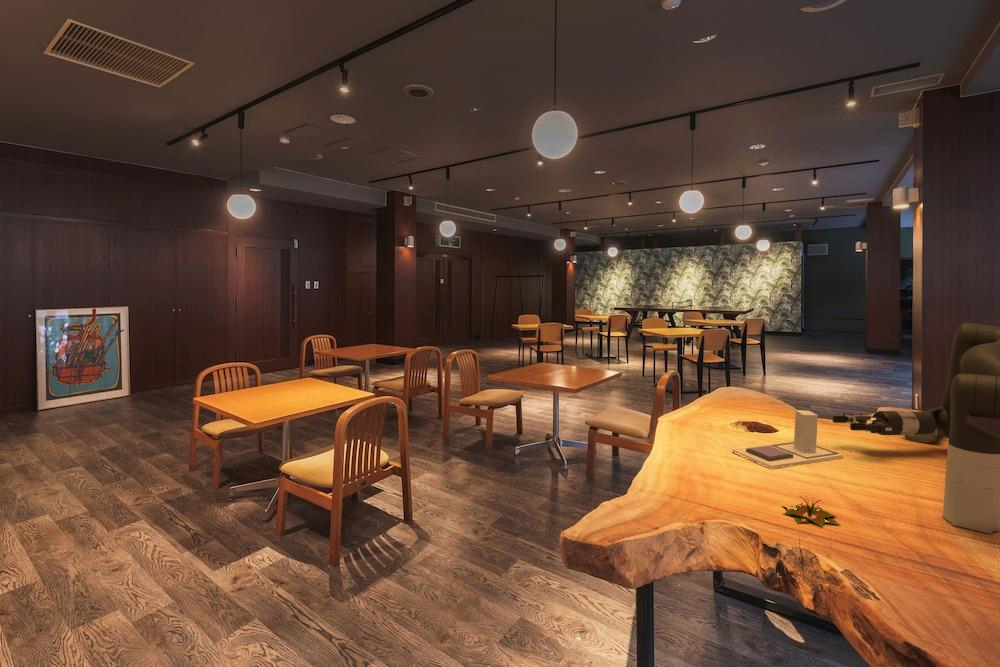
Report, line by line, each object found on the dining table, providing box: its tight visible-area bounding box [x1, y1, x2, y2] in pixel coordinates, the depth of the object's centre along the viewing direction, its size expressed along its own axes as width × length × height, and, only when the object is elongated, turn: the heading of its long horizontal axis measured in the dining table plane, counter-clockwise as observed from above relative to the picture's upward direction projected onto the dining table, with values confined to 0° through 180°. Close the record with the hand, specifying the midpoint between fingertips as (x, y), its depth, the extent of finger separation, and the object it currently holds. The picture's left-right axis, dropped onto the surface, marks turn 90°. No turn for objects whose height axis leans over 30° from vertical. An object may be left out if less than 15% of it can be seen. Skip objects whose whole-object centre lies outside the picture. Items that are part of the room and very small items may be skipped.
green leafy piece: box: [783, 495, 840, 528], centre depth 113 cm, size 12×12×5 cm
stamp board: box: [731, 440, 844, 468], centre depth 152 cm, size 28×15×2 cm, turn 107°
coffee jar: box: [903, 410, 944, 443], centre depth 168 cm, size 10×8×19 cm
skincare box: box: [793, 409, 819, 453], centre depth 154 cm, size 6×4×12 cm
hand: (841, 422), depth 153 cm, fingers open, 8 cm apart
